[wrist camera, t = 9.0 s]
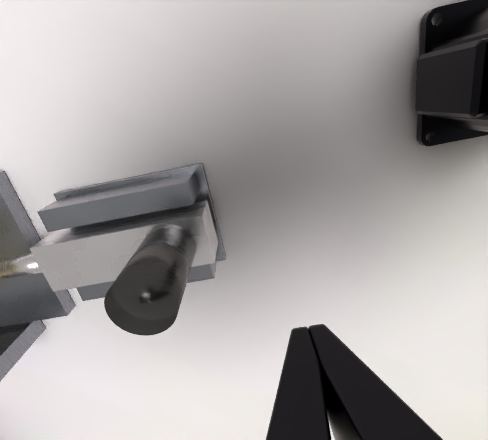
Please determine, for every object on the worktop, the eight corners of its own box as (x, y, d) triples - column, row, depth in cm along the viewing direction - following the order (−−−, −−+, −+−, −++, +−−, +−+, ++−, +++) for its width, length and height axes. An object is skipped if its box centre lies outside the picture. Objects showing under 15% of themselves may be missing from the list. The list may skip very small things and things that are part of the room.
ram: (207, 200, 16) (184, 266, 10) (218, 241, 17) (204, 327, 11) (9, 238, 17) (-134, 323, 10) (31, 275, 18) (-87, 374, 11)
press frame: (194, 131, 16) (169, 147, 10) (235, 296, 20) (234, 368, 15) (-188, 211, 18) (-385, 261, 12) (-73, 348, 22) (-179, 431, 16)
